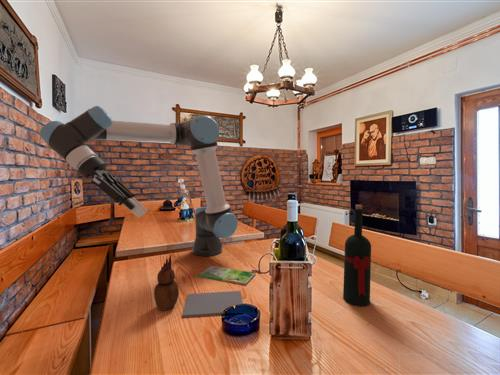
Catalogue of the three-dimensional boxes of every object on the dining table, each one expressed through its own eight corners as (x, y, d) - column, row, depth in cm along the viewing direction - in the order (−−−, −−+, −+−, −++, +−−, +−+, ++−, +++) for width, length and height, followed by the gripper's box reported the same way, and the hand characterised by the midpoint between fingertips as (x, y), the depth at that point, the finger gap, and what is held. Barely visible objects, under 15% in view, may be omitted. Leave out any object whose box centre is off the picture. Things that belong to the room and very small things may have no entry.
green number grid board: (246, 286, 86) (256, 276, 95) (246, 283, 86) (256, 272, 95) (198, 277, 93) (211, 268, 103) (198, 274, 93) (211, 265, 103)
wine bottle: (347, 309, 71) (350, 207, 69) (340, 292, 81) (342, 203, 79) (376, 312, 69) (379, 208, 68) (365, 294, 79) (368, 203, 78)
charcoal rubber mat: (182, 317, 67) (182, 315, 67) (188, 295, 79) (188, 293, 79) (243, 313, 69) (243, 311, 69) (240, 292, 81) (240, 290, 81)
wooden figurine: (172, 299, 76) (172, 252, 76) (181, 306, 72) (181, 256, 71) (151, 307, 72) (150, 257, 71) (159, 315, 68) (158, 262, 67)
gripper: (92, 171, 85) (142, 217, 88) (63, 171, 70) (125, 227, 72) (107, 156, 85) (157, 203, 88) (82, 153, 70) (144, 209, 73)
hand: (143, 214), depth 80 cm, fingers open, 3 cm apart
